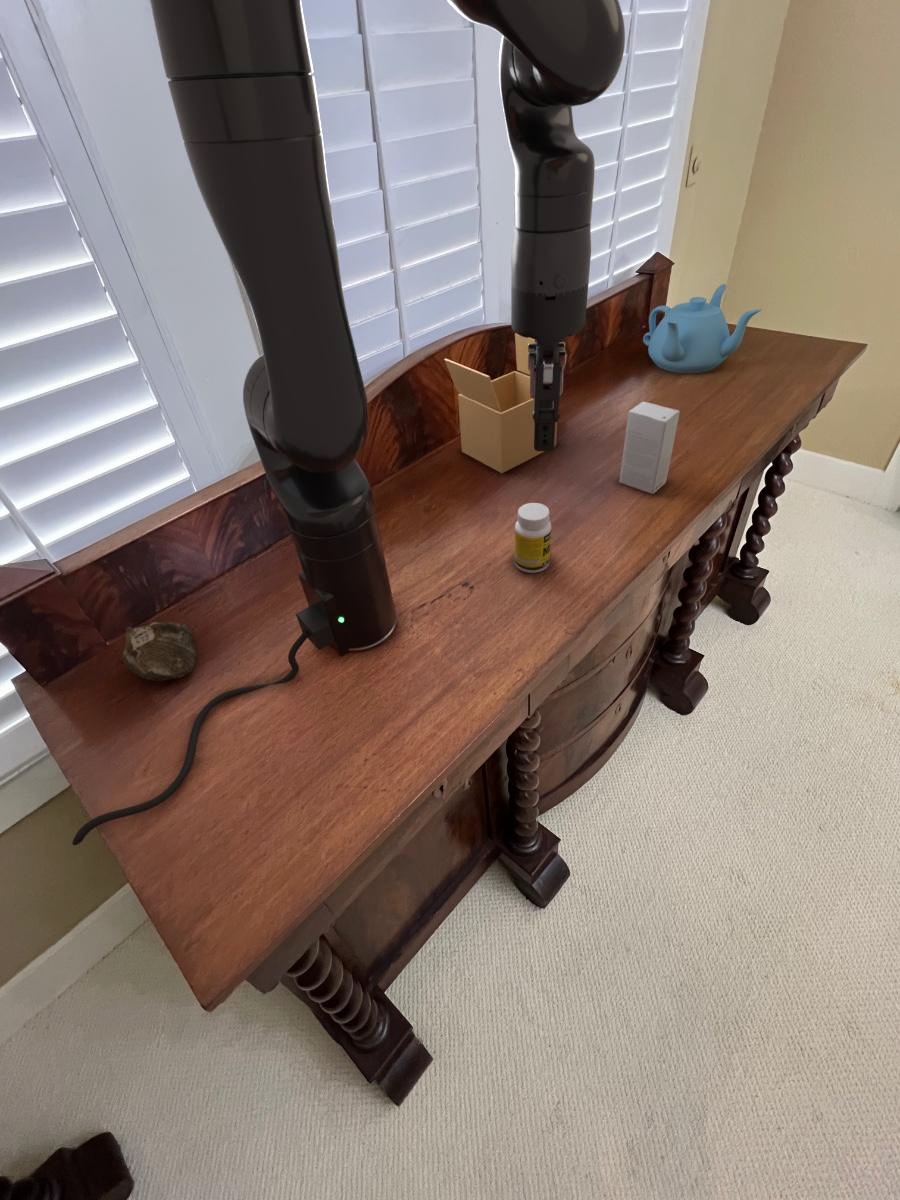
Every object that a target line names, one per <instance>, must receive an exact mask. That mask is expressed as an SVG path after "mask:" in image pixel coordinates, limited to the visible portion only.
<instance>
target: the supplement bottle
mask: <svg viewBox="0 0 900 1200" xmlns="http://www.w3.org/2000/svg"><path fill="white" fill-rule="evenodd" d="M550 518H551V517H550V509H549V508H548V506H547V505H545V504H542V503H540V502H539V503H538V502H528V503H525V504H523V505H521V506H520V507H519V508H518V510H517V520H516V522H515V525H514V565H515V567H516V568H517V569H518V570H519V571H522V572H524V573H528V574H535V573H540V572H542V571H544V570H546V569H547V568H548V567H549V564H550V559H551V543H552V542H551V541H552V540H551V539H552V524H551V521H550Z"/></svg>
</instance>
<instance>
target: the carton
mask: <svg viewBox="0 0 900 1200" xmlns="http://www.w3.org/2000/svg"><path fill="white" fill-rule="evenodd" d="M514 340H515V341H514V343H515V359H516V370H517V371H516V370H513V371H511V372H509V373H507V374H504V375H501V376H499V377H497V378H495V379H491V382H492V385H493V388H494V391H495V393H496V396H497V399H498V402H499V405H500V408H501V410H500V411H499V410H497V409H494V408H492V407H490V406H488V405H486V404H483V403H481V402H479V401H477V400H475V399H472V398H470V397H468V396H466V395H464V394H461V393H459V394H458V395H457V397H458V398H457V399H458V400H457V401H458V412H459V413H458V414H459V415H458V416H459V427H460V429H459V430H460V444H461V452H462V453H464V454H466V455H467V456H469V457H471V458H472V459H474V460H476V461H478V462H480V463H482V464H483V465H485V466H487V467H489V468H491V469H493V470H495V471H497V472H498V473H500V474H504V473H505V472H508V471H509V470H511V469H513V468H515V467H517V466H519V465H522V464H523V463H525V462H527V461H529V460H531V459H532V458H535V457H537V456H539V455H540V454H542V453H544V452H545V451H536V450H535V449H534V428H535V423H534V419H533V412H534V399H533V398H531V397H530V371H529V370H528V343H535V340H534V339H532V338H525V337H522V336H520V335H518V334H517V333H515V332H514ZM552 408H553V407H552ZM557 430H558V422H556V423H555V440H554V447H556V446H557V434H558V433H557V432H558V431H557Z"/></svg>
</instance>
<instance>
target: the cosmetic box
mask: <svg viewBox="0 0 900 1200" xmlns="http://www.w3.org/2000/svg"><path fill="white" fill-rule="evenodd" d="M680 413H681V411H680V409H675V408H672V407H671V408H670V407H666V406H662V405H659V404H655V403H651V402H648V401H641V402H640V403H639V404H637V405H635V406H634V407H632V408H631V409H630V410H629V411H628V414H627V421H626V429H625V436H624V444H623V452H622V459H621V465H620V473H619V481H618V482H619V484H622V485H626V486H628V487H631V488H633V489H636V490H639V491H642V492H645V493H648V494H650V495H654V494H655V493H657V491H658V490H659V489H661V488H662V487H663V486H664V485H666V483H667V479H668V473H669V470H670V469H669V468H670V464H671V459H672V453H673V449H674V444H675V437H676V434H677V429H678V424H679V419H680V418H679V417H680Z"/></svg>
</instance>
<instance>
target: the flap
mask: <svg viewBox="0 0 900 1200" xmlns="http://www.w3.org/2000/svg"><path fill="white" fill-rule="evenodd" d="M444 362H445V365H446V367H447V371H448V372H449V375H450V377H451V380H452V383H453V385H454V387H455V391H456V392H457V393H459V394H464V395H466V396H468V397H470V398H472V399H475V400H477V401H479V402H481V403H483V404H486V405H488V406H490V407H492V408H494V409H497V410H499V411H500V410H501V408H500V405H499V402H498V399H497V396H496V393H495V391H494V388H493V385H492V382H491V381H492V379H491V376H490V375H487V374H486V373H483V372H480V371H478V370H476V369H472V368H470V367H468V366H465V365H463V364H460V363H458V362H456V361H453V360H451V359H448V358H444Z"/></svg>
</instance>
